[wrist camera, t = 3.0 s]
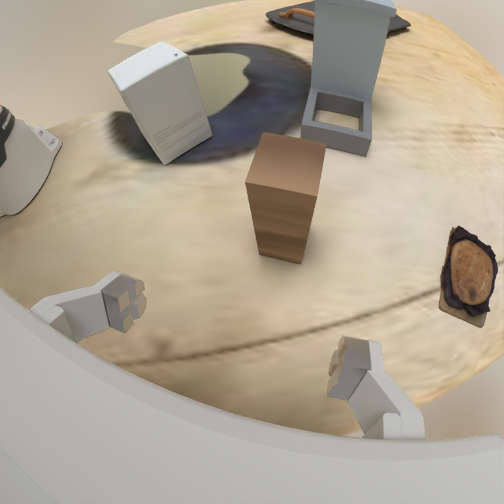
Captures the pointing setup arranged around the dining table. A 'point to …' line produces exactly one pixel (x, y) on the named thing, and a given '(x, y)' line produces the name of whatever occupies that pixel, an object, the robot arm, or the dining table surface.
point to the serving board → (303, 18)
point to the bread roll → (467, 277)
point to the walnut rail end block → (284, 193)
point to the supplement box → (163, 99)
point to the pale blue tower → (346, 69)
